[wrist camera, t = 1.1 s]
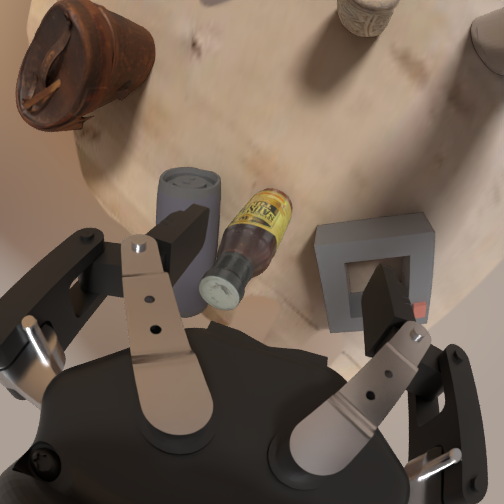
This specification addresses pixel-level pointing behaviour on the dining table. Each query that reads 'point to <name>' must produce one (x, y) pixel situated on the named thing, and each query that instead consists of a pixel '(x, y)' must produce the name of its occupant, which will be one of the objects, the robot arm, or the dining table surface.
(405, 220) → the bottle socket block
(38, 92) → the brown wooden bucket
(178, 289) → the bluetooth speaker
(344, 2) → the carving
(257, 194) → the sauce bottle
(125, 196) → the dining table surface
